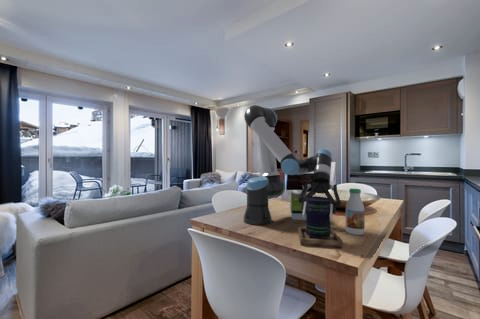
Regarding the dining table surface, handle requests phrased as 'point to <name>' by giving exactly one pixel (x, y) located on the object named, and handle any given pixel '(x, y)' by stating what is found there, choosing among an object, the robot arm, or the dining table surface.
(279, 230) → the dining table surface
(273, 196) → the robot arm
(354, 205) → the milk bottle
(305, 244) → the tray
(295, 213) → the tea box
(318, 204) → the storage jar
